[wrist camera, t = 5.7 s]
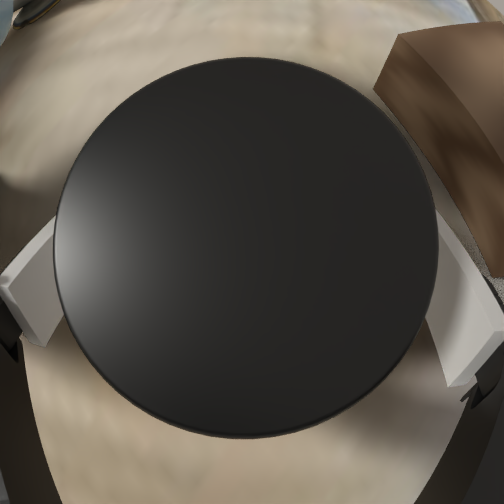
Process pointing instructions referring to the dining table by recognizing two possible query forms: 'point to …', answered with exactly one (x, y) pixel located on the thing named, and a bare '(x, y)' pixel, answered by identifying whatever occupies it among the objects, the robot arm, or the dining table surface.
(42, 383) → the dining table surface
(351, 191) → the jar
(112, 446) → the dining table surface
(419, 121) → the walnut block
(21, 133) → the dining table surface
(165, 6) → the dining table surface
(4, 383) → the robot arm
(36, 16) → the apothecary jar
